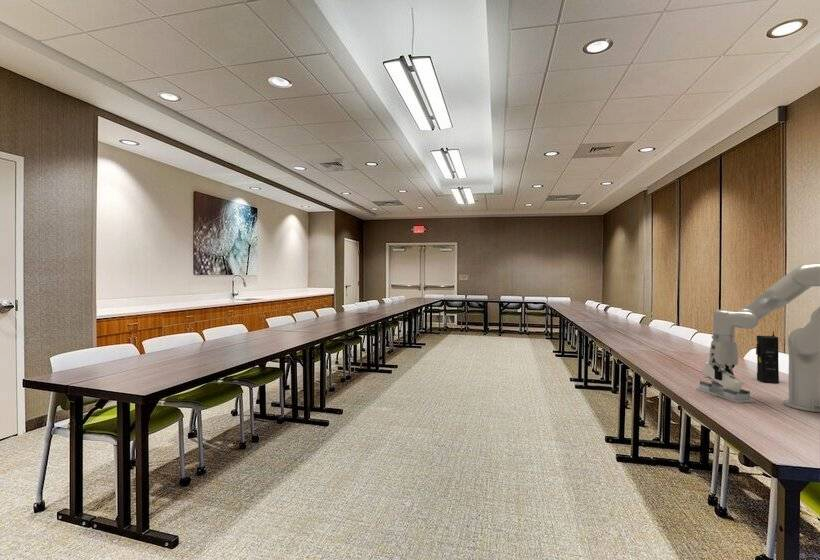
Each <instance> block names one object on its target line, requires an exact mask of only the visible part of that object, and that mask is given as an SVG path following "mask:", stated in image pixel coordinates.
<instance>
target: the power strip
mask: <svg viewBox="0 0 820 560" xmlns="http://www.w3.org/2000/svg"><path fill="white" fill-rule="evenodd" d="M708 362H709V361H705V362H704V364H703V366H702V370H701V372H702V373H704V375H706V376H707V377H709V378H710V379H712V380H713V381H716V382H718V383H719V384H721V385H722V386H724V389H725V388H726V389H729V390H733V391H736V392H740V390H741V389H742V386H743V384H744V381H742V380H741V379H739V378H738V377H736V376H735V375H734V376H733V375H732V374H730V373H728V372H727V371H725V370H724V369H722V368H721V371H722V380H717V379H715V370H714V369H713V367H712V366H710V365H709V364H708ZM717 366H718V365H717Z"/></svg>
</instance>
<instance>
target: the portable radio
mask: <svg viewBox="0 0 820 560" xmlns="http://www.w3.org/2000/svg"><path fill="white" fill-rule="evenodd" d="M755 348H756V349H755V355H756V359H757V363H756V365H757V366H756V380H757V381H759V382H762V383H765V384H766V383H768V384H780V376H779V374H780V372H779V370H780V369H779V368H780V367H779V365H780V364H779V337H778V336H775V330H773V331H772V335H756V347H755Z"/></svg>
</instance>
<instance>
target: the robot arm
mask: <svg viewBox="0 0 820 560" xmlns="http://www.w3.org/2000/svg"><path fill="white" fill-rule="evenodd" d="M812 287H820V264H819V263H818V264H817V263H816V264H813V263H812V264H802V265H799V266H797V267H794V269H792V270H791V271H790V272H788V273H787V274H786V275H784V276H783V277H781V278H780V279H779V280H777V282H775V283H774V284H773V285H771V286H770V287H768V288H767V289H766V290H765V291H763V292H761V294H760V295H759V296H757V297H756V298H754V299H753V300H751V301H750V302H749V303H748V304H747V305H745V306H744V307H742V308H741V309H740V310H739V311H734V310H733V311H732V310H729V309H716V310H714V311H713V314H712V336H711V339H712V340H711V342H710V348H709V361H707V362H708V364H709V365H710V366H712V367H713V369H714V370H715V379H717V380H722V371H721V368H722V365H724V368H725V371H727V372H728V373H730V374H731V371H733V370H734V368H735V367H736V366H737V365H739V351H738V345H737V341H735V337H736V336H735V335H736V333H735V332H736V331H735V330H736V328H738V329H744V330H751V329H755V328H756V327H757V326H758V325H759V323H760V320H762V319H763V318H764V317H766V316H768V314H769V315H770V313H772V312H774V311H775V310H777V309H779V308H782V307H785V306H786V305H787V306H788V305H789V304H790V303H791V302H793V301H795V299H797V298H798V297H799V296H801V295H802V294H804V293H805V292H806V291H808V290H809V289H810V288H812ZM787 349H788V399H787V398H786V399H784V400H783V402H782V403H783V404H784V406H787V407H790V408H792V409H796V410H801V411H805V412H811V413H812V412H815V413H820V306H818V307H817V308H816V309H815V310H814V311H813V312H812V313H811V315H810V320H809V321H808V323H807V324H805V326H804V327H799V328H796V329H794V330H792V331H791V332H790V333H789V335H788V336H787ZM717 365H718V366H717Z"/></svg>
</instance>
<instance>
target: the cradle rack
mask: <svg viewBox="0 0 820 560" xmlns="http://www.w3.org/2000/svg"><path fill="white" fill-rule="evenodd" d="M695 389H696V391H700V392H703V393H705V394H708V395H712V396H714V395H715V397H717V396H719V397H718V398H720V397H721V399H723V398H724V399H723V400H726V399H727V400H726V401H729V400H730V402H732V401H733V403H735V402H736V404H744V403H743V402H750V403H755V399H752V398H751V397H750V396H751V391H750V390H747V389H743V388H741V390H740V392H736V391H733V390H729V389H727V388H725V387H724V386H722V385H721V384H719V383H718V382H716V381H715V380H711V382H706V381H703V380H699V386H696V388H695Z"/></svg>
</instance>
